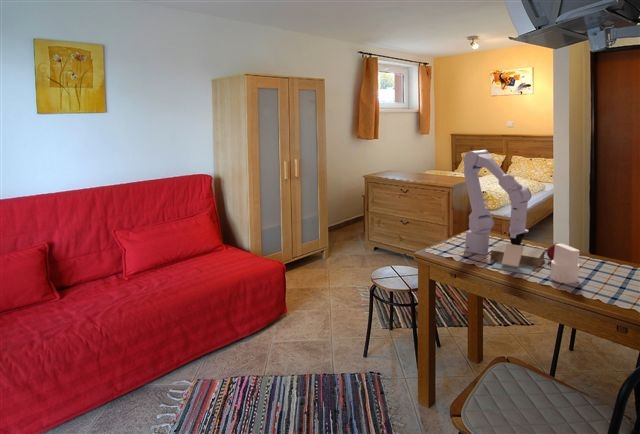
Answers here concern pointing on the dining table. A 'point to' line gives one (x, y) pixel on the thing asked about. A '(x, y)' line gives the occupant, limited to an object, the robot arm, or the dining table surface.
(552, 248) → the onion
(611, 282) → the dining table surface
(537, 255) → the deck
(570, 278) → the base with upright slab
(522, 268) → the mat
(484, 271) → the dining table surface
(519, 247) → the tan tilted rectangular prism
